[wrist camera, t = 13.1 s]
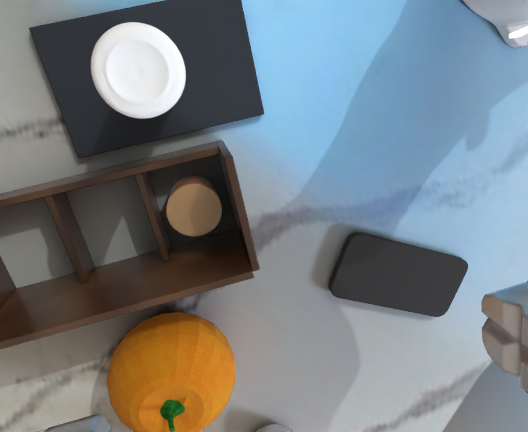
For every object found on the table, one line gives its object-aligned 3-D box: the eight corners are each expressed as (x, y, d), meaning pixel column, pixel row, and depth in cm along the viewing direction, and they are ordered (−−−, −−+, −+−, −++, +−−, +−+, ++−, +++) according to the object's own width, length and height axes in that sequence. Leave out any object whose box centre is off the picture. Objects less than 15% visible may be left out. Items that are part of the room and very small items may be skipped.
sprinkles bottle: (192, 58, 32) (198, 45, 20) (174, 112, 33) (169, 132, 21) (135, 34, 31) (102, 3, 18) (119, 91, 32) (77, 99, 19)
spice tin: (211, 169, 36) (214, 178, 32) (224, 215, 37) (227, 228, 34) (161, 181, 35) (159, 192, 32) (175, 228, 37) (175, 242, 34)
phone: (443, 319, 46) (327, 296, 41) (439, 315, 46) (324, 292, 42) (472, 261, 44) (353, 231, 39) (466, 258, 44) (349, 228, 40)
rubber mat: (237, -13, 32) (238, -15, 31) (262, 113, 35) (264, 114, 35) (31, 28, 30) (28, 27, 29) (80, 156, 33) (78, 158, 33)
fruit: (250, 359, 43) (268, 436, 34) (155, 412, 43) (147, 503, 34) (195, 277, 39) (198, 340, 30) (90, 336, 39) (60, 416, 30)
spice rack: (222, 140, 35) (234, 158, 27) (245, 233, 38) (262, 275, 30) (-35, 202, 33) (-110, 243, 25) (12, 295, 36) (-39, 360, 28)
